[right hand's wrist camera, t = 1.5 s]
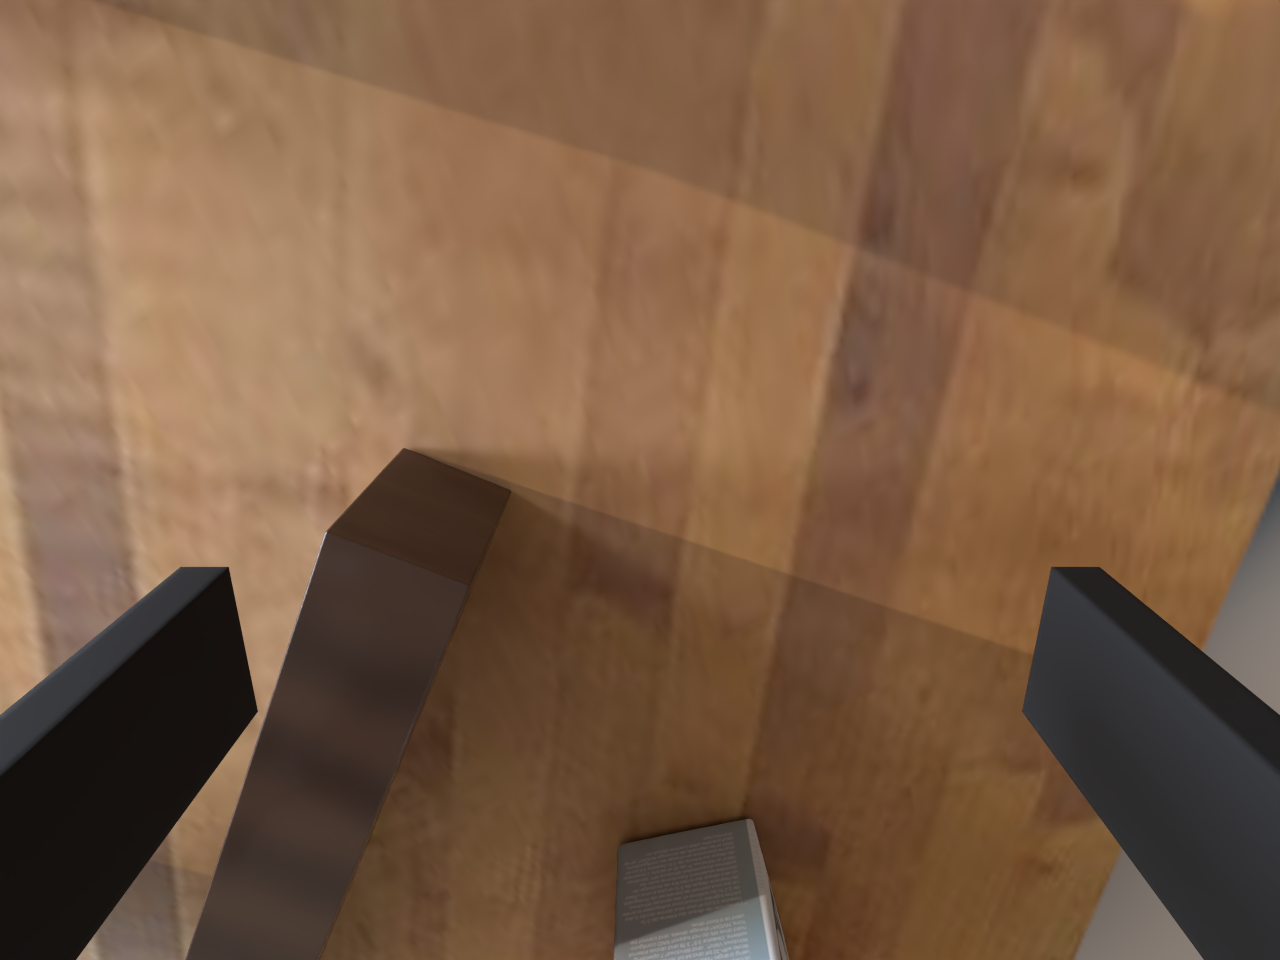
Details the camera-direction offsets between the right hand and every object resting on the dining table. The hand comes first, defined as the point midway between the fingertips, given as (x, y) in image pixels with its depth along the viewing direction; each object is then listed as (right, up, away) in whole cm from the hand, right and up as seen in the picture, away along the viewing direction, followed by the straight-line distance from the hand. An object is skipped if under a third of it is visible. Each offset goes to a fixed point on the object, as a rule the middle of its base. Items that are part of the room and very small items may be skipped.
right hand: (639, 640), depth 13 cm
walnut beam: (-14, -11, +27) cm, 32 cm away
